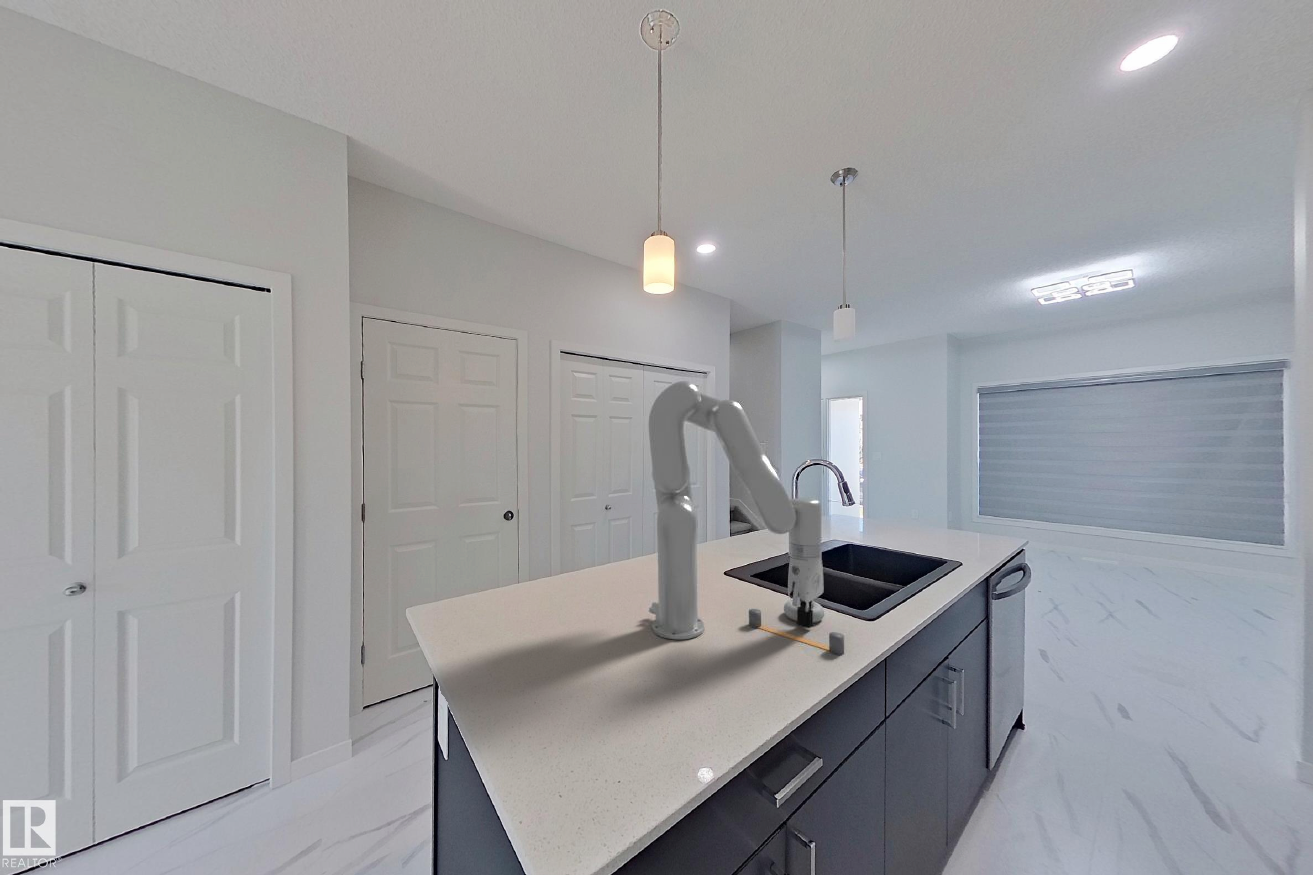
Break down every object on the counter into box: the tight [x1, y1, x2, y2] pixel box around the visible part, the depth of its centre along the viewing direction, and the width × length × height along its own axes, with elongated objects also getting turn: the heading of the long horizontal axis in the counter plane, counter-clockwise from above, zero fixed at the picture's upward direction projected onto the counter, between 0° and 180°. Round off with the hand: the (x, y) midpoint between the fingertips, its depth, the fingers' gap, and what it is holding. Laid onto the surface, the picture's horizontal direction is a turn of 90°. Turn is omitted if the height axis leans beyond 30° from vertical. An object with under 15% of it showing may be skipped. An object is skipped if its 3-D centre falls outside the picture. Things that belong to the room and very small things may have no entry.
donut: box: [783, 599, 825, 623], centre depth 115 cm, size 10×4×10 cm
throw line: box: [748, 608, 845, 656], centre depth 103 cm, size 23×3×4 cm, turn 47°
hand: (804, 625), depth 108 cm, fingers closed
